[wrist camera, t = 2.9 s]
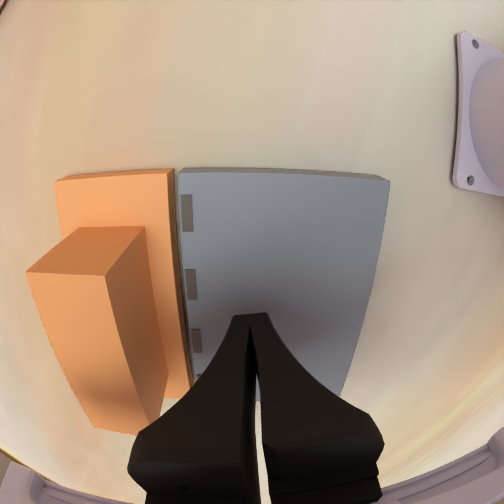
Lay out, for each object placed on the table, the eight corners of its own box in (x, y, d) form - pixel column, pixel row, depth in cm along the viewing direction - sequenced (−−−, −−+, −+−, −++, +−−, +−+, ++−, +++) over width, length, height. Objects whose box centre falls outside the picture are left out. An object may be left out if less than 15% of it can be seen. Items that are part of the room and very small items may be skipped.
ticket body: (377, 175, 12) (391, 181, 11) (335, 380, 17) (340, 396, 15) (183, 168, 11) (177, 173, 10) (200, 384, 16) (198, 401, 15)
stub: (173, 168, 11) (129, 201, 7) (193, 385, 16) (184, 459, 12) (66, 176, 11) (-9, 211, 6) (114, 377, 16) (90, 444, 11)
